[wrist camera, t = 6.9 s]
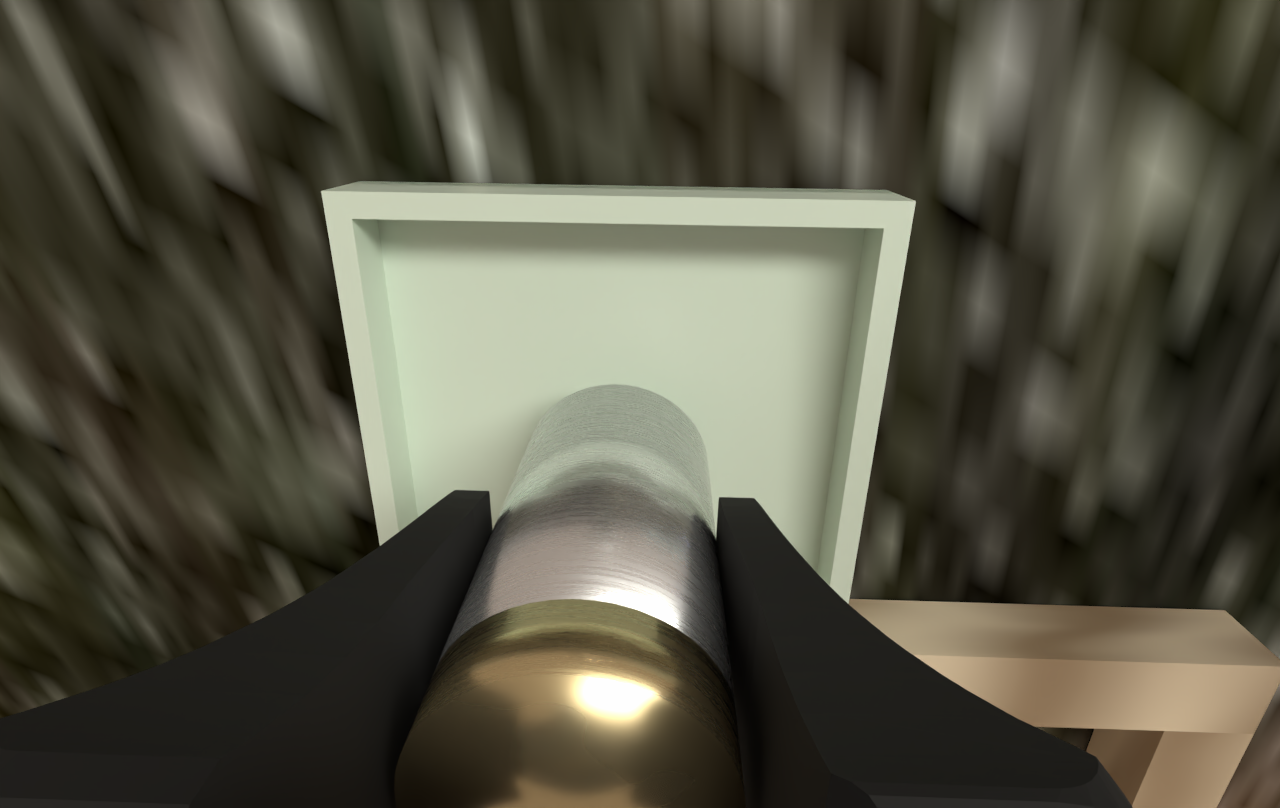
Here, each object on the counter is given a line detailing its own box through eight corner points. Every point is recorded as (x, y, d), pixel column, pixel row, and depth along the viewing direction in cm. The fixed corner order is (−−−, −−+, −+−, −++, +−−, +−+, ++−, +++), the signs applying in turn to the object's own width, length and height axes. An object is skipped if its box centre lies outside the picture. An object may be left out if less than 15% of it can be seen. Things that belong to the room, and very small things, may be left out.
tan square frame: (1224, 609, 18) (1287, 666, 16) (1115, 857, 22) (1156, 925, 20) (844, 598, 18) (864, 653, 17) (803, 845, 22) (816, 911, 21)
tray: (886, 190, 14) (915, 201, 13) (823, 613, 19) (838, 662, 17) (360, 181, 14) (321, 190, 13) (420, 600, 19) (396, 647, 17)
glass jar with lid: (738, 424, 15) (808, 745, 7) (666, 566, 16) (664, 950, 9) (560, 356, 14) (444, 628, 7) (504, 510, 16) (360, 865, 8)
